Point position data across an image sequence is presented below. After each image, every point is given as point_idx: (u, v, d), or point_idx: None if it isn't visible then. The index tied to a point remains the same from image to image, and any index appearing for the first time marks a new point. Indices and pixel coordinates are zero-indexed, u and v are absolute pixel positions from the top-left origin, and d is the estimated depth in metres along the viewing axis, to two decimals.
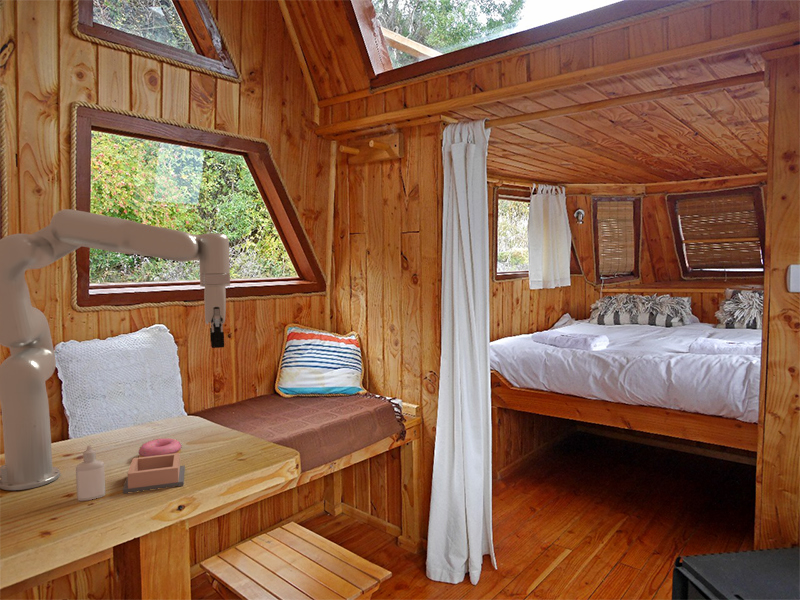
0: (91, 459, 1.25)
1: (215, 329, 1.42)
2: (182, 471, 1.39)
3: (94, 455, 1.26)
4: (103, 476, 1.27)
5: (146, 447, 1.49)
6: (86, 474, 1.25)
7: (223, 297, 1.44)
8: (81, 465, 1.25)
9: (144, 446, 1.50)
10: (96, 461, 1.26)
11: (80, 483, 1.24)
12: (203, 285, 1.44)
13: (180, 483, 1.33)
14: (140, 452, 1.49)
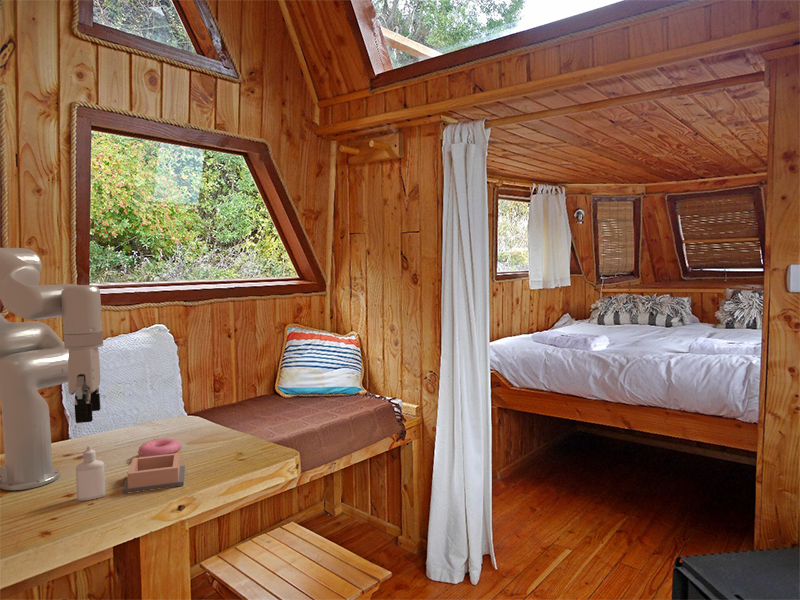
0: (91, 459, 1.25)
1: (78, 401, 1.18)
2: (182, 471, 1.39)
3: (94, 455, 1.26)
4: (103, 476, 1.27)
5: (145, 447, 1.49)
6: (86, 474, 1.25)
7: (90, 362, 1.21)
8: (81, 465, 1.25)
9: (143, 446, 1.50)
10: (96, 461, 1.26)
11: (80, 483, 1.24)
12: (66, 348, 1.21)
13: (180, 483, 1.33)
14: (139, 452, 1.49)
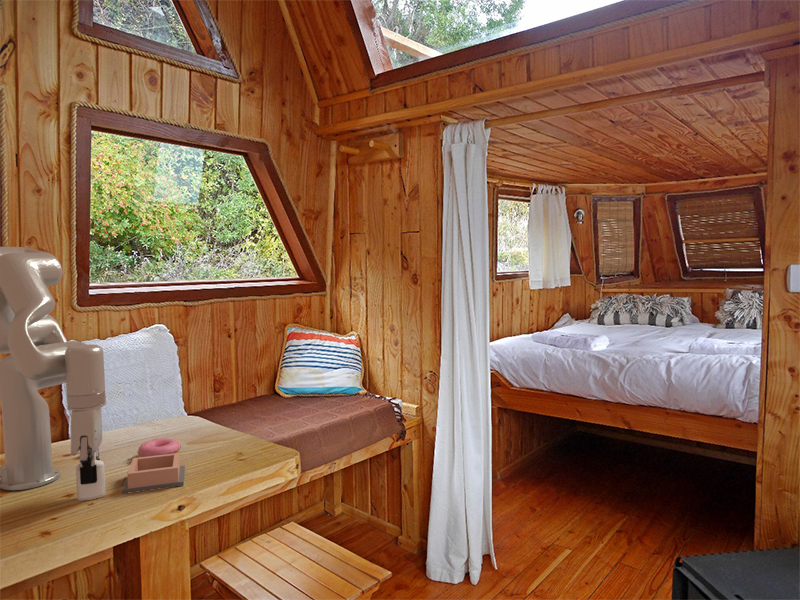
0: None
1: (83, 464, 1.22)
2: (182, 471, 1.39)
3: None
4: (103, 476, 1.27)
5: (145, 447, 1.49)
6: None
7: (93, 423, 1.22)
8: None
9: (143, 446, 1.50)
10: (96, 461, 1.26)
11: (80, 483, 1.24)
12: (69, 408, 1.22)
13: (180, 483, 1.33)
14: (139, 452, 1.49)
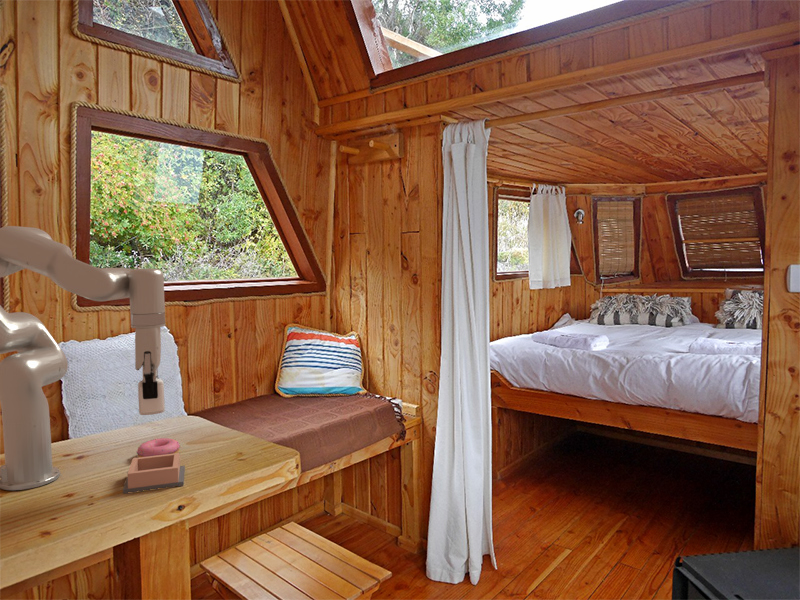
0: None
1: (146, 379, 1.30)
2: (182, 471, 1.39)
3: None
4: (163, 393, 1.34)
5: (144, 447, 1.49)
6: None
7: (155, 340, 1.30)
8: None
9: (142, 446, 1.50)
10: (156, 379, 1.34)
11: (142, 398, 1.32)
12: (133, 326, 1.30)
13: (180, 483, 1.33)
14: (138, 452, 1.49)
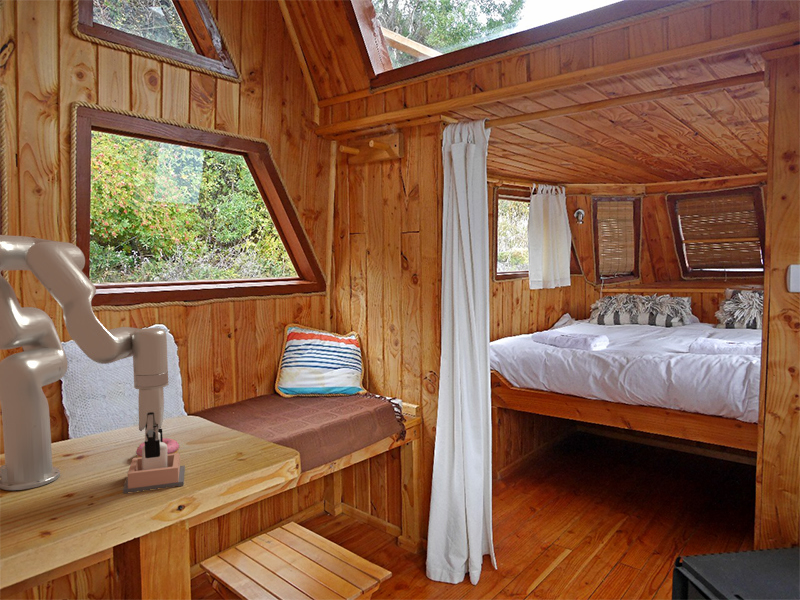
0: None
1: (149, 439, 1.29)
2: (182, 471, 1.39)
3: (159, 437, 1.35)
4: (166, 457, 1.36)
5: None
6: None
7: (158, 401, 1.31)
8: None
9: (142, 446, 1.50)
10: (160, 443, 1.35)
11: (146, 462, 1.33)
12: (136, 387, 1.31)
13: (180, 483, 1.33)
14: (138, 452, 1.49)
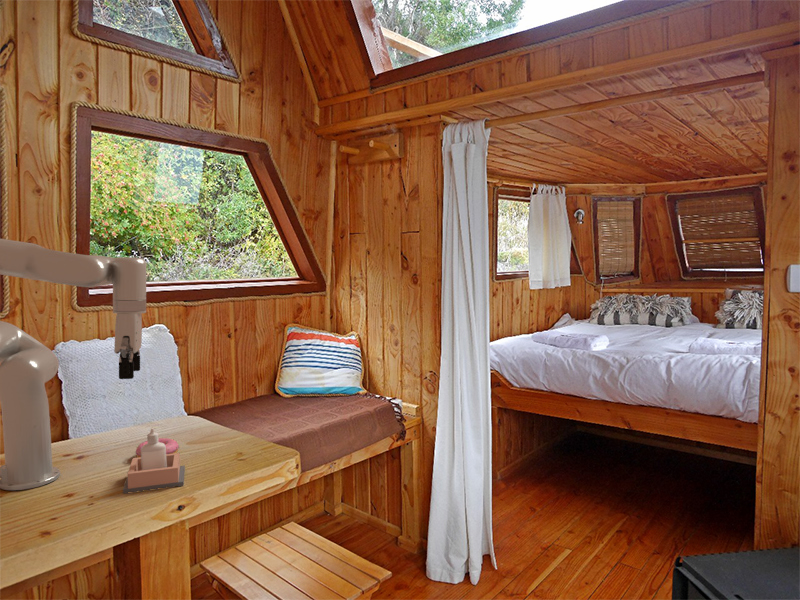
0: (155, 441, 1.34)
1: (122, 359, 1.34)
2: (182, 471, 1.39)
3: (157, 437, 1.35)
4: (165, 457, 1.36)
5: None
6: (150, 454, 1.33)
7: (134, 325, 1.36)
8: (145, 446, 1.34)
9: (141, 446, 1.50)
10: (159, 443, 1.35)
11: (145, 463, 1.33)
12: (114, 312, 1.36)
13: (180, 483, 1.33)
14: (137, 452, 1.49)
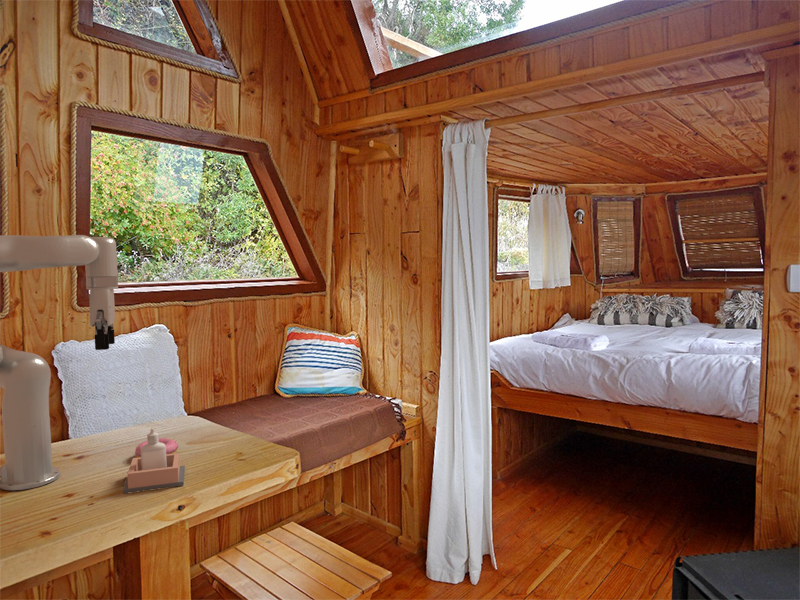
0: (155, 441, 1.34)
1: (98, 331, 1.44)
2: (182, 471, 1.39)
3: (157, 437, 1.35)
4: (165, 457, 1.36)
5: None
6: (150, 454, 1.33)
7: (107, 300, 1.46)
8: (145, 446, 1.34)
9: (141, 446, 1.50)
10: (159, 443, 1.35)
11: (145, 463, 1.33)
12: (88, 288, 1.47)
13: (180, 483, 1.33)
14: (137, 452, 1.49)
